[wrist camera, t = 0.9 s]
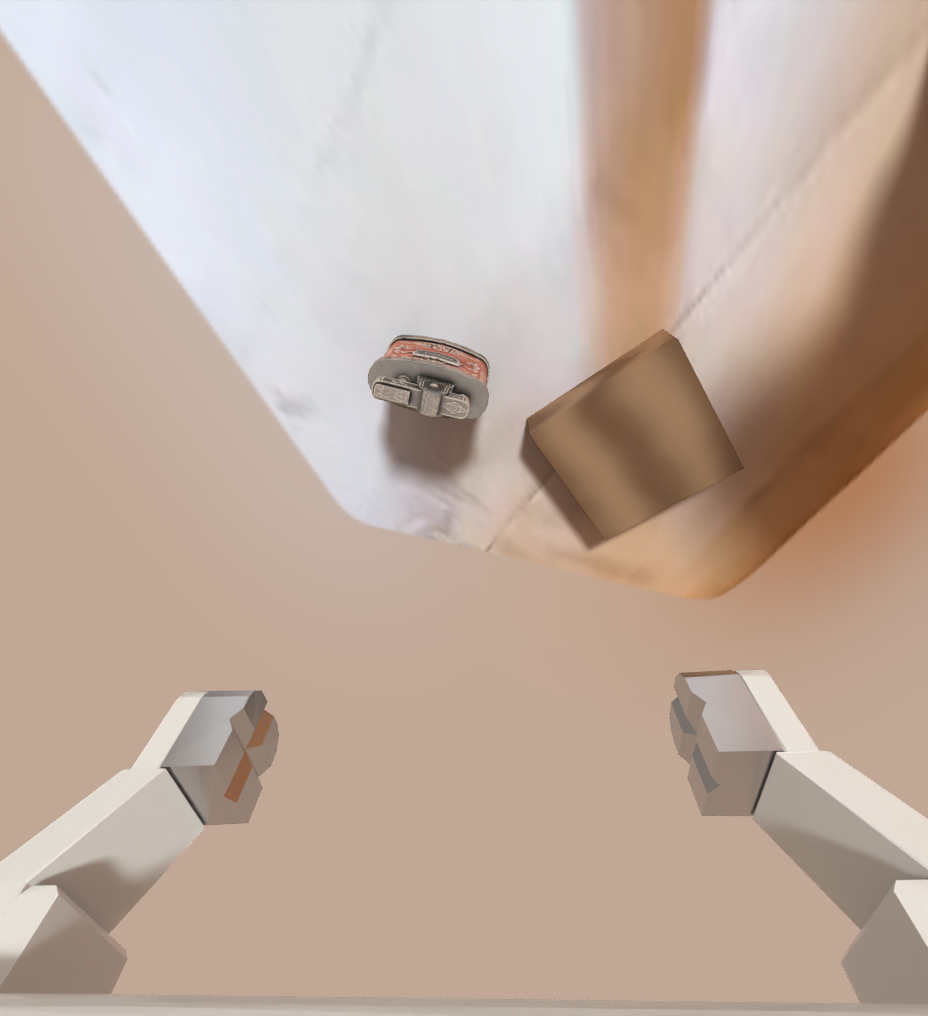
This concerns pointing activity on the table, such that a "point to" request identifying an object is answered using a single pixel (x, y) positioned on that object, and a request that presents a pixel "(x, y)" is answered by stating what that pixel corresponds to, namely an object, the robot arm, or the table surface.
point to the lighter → (431, 377)
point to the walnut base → (635, 436)
